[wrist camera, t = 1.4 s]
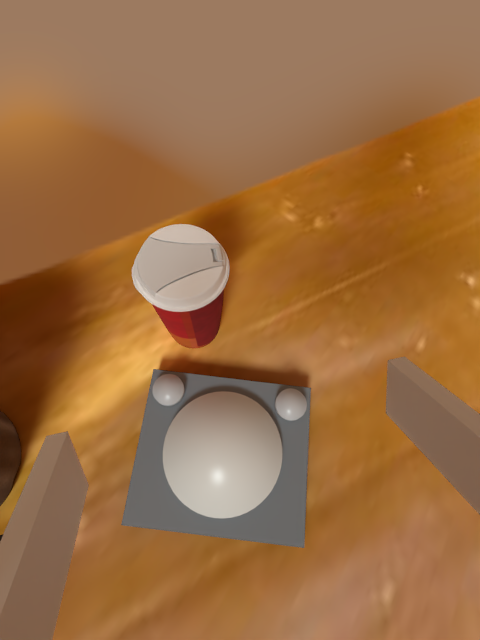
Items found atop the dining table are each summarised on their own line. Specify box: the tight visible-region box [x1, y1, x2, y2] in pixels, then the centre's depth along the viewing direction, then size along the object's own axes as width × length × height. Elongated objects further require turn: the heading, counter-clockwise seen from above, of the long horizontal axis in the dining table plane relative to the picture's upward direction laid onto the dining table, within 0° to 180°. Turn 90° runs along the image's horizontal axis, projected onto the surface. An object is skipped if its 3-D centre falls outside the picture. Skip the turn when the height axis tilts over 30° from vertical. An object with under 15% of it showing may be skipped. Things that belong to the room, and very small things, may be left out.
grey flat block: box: [122, 369, 311, 548], centre depth 35 cm, size 16×14×3 cm
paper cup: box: [132, 224, 230, 348], centre depth 35 cm, size 8×8×14 cm
